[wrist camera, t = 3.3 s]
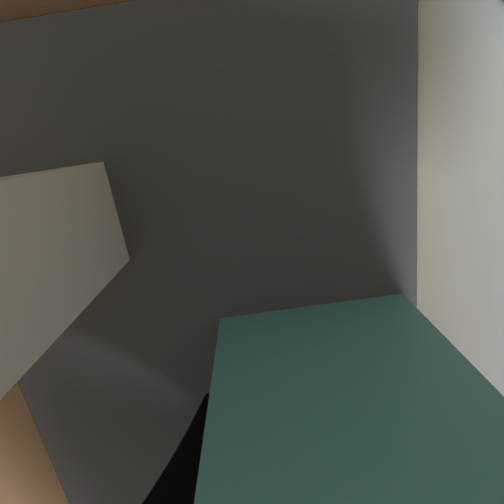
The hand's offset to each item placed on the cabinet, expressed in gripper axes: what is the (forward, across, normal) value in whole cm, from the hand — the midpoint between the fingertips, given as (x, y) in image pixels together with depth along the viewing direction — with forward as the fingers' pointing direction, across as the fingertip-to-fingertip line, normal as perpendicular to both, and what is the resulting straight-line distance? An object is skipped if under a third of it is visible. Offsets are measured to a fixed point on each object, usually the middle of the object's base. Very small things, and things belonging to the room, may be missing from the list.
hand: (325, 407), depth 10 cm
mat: (+1, +3, -3) cm, 4 cm away
